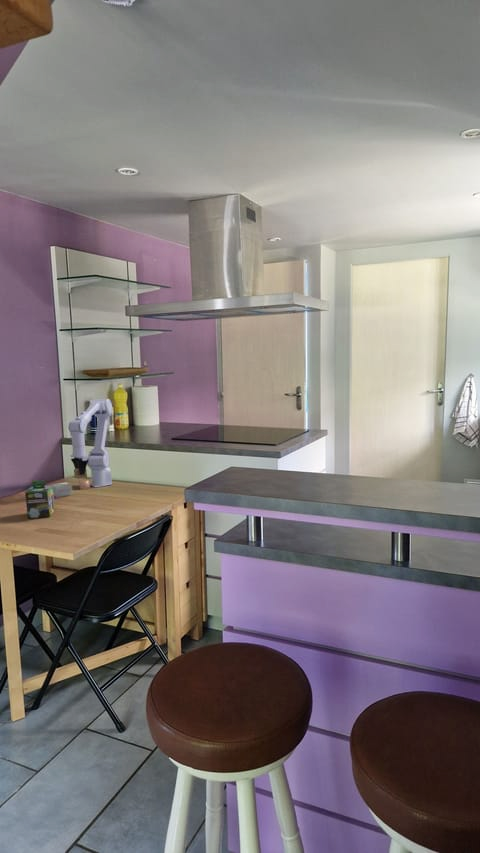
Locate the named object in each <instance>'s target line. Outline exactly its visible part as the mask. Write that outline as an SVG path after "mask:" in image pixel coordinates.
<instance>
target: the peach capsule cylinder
mask: <svg viewBox="0 0 480 853" xmlns="http://www.w3.org/2000/svg"><path fill="white" fill-rule="evenodd" d="M90 482H91V481H90V479H87V478H83V479H78V485H79V486H78V487H79V490H88V489H91V485H90V484H91V483H90Z"/></svg>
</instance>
